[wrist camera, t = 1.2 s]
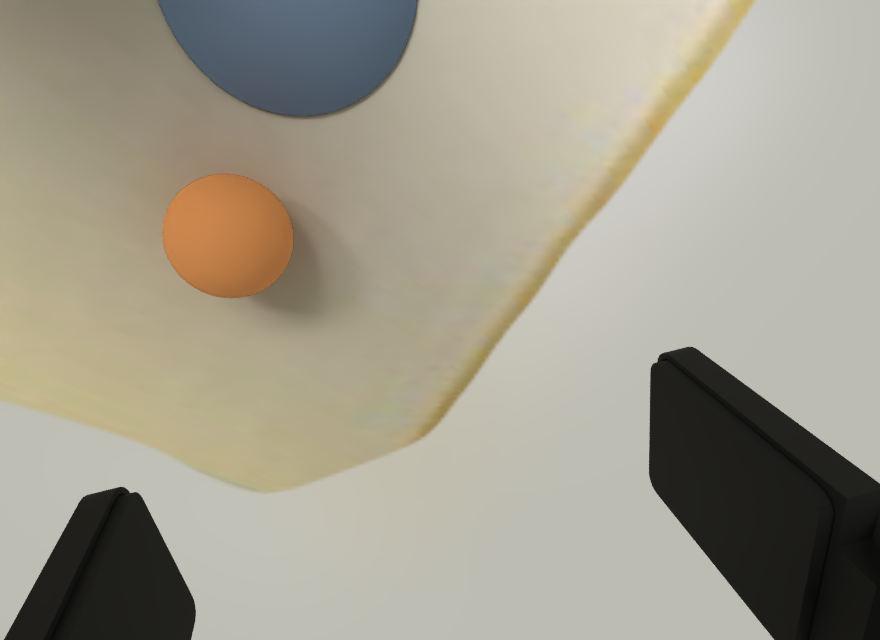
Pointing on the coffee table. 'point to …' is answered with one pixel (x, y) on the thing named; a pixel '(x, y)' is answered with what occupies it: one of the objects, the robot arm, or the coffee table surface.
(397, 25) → the disc
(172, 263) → the ball
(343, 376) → the coffee table surface
